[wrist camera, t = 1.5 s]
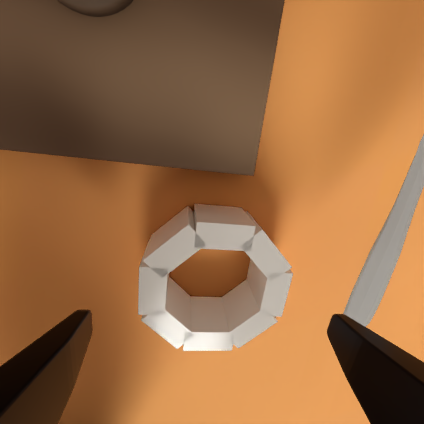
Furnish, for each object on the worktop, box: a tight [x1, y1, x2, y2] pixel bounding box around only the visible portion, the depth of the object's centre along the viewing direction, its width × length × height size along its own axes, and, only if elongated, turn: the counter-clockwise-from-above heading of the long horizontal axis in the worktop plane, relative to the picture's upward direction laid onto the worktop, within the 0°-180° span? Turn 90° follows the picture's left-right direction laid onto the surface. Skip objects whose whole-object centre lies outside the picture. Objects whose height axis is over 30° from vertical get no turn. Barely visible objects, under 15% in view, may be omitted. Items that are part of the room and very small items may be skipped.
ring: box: [138, 204, 293, 351], centre depth 11 cm, size 6×6×2 cm
